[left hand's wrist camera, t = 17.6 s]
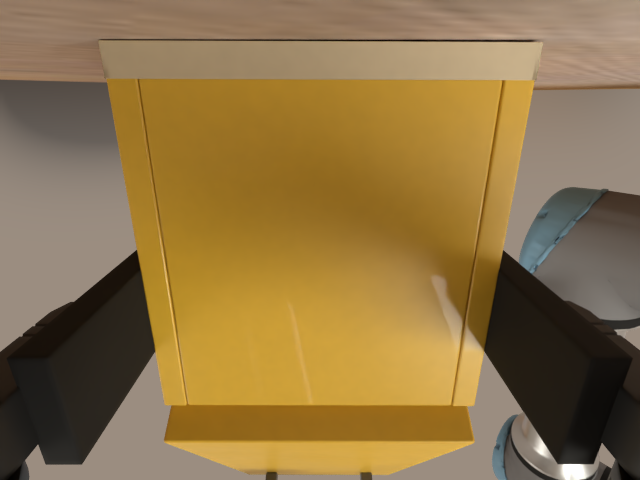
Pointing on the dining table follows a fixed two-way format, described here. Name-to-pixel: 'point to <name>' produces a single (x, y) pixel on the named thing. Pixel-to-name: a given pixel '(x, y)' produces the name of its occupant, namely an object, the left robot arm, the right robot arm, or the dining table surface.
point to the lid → (319, 437)
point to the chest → (320, 212)
